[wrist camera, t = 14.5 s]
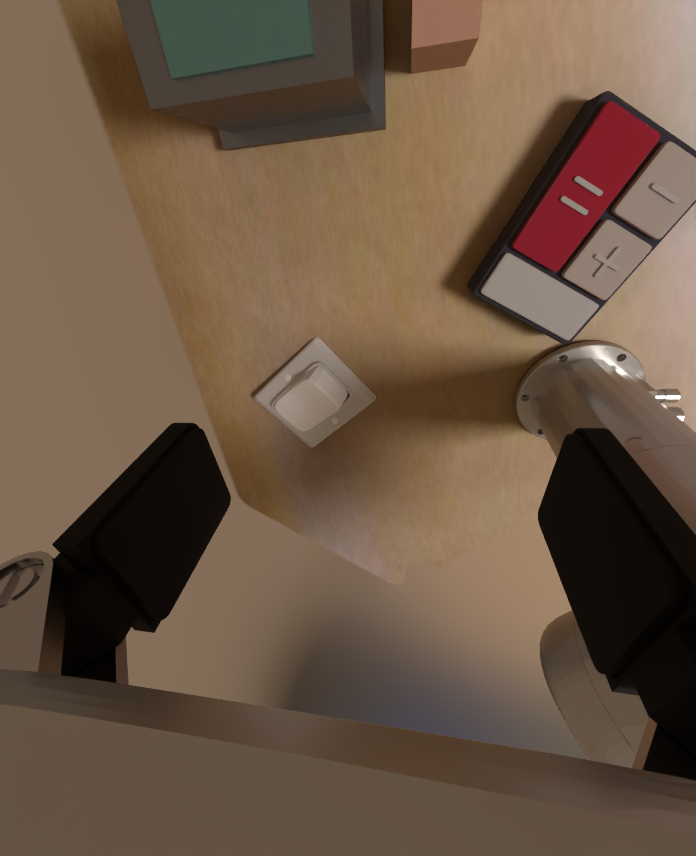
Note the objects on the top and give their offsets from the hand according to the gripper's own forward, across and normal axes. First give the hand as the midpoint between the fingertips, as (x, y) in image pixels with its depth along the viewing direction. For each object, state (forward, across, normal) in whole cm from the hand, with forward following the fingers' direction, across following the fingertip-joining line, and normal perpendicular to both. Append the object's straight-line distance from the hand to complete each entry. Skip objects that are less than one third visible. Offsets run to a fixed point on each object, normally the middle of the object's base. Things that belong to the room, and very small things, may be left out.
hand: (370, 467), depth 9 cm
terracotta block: (+30, -3, -15) cm, 34 cm away
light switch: (+31, +11, +16) cm, 37 cm away
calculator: (+31, -15, -1) cm, 35 cm away
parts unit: (+30, +8, -14) cm, 34 cm away
